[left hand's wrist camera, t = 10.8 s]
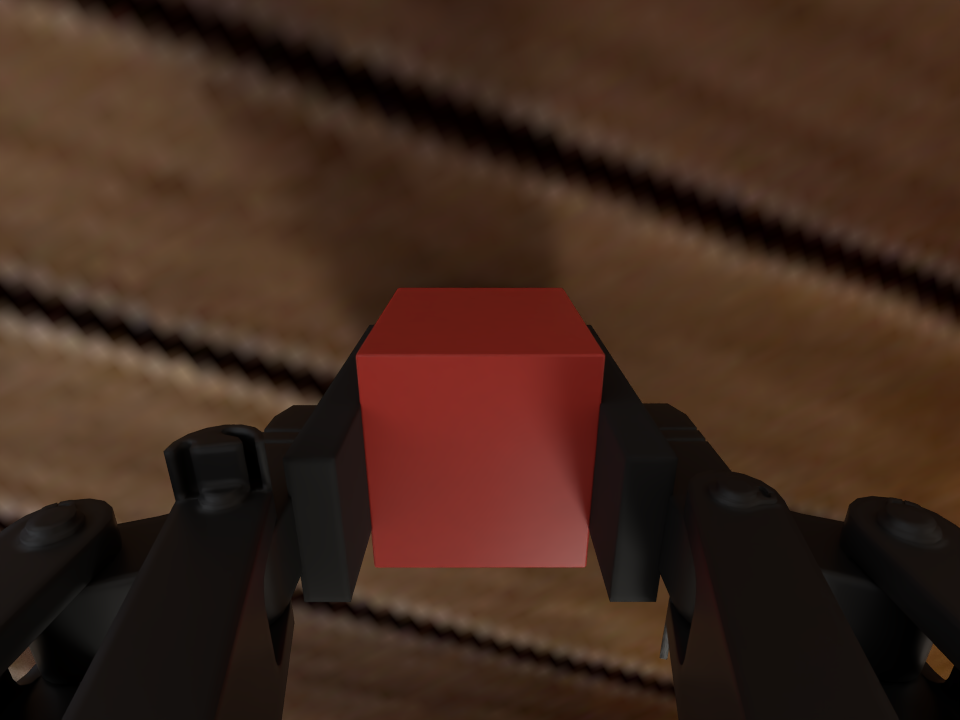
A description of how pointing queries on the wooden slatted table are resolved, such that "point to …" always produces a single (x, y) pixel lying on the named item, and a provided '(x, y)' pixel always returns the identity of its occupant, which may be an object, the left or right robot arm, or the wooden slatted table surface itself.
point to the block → (480, 428)
